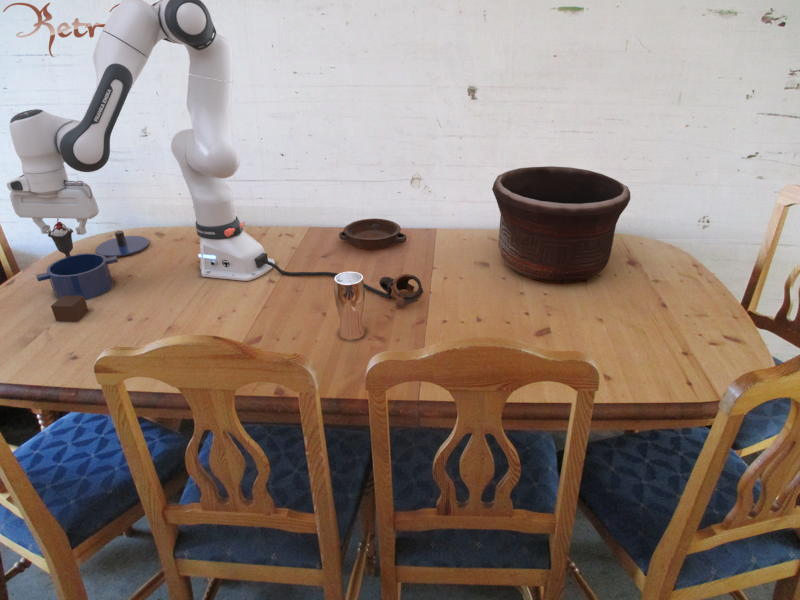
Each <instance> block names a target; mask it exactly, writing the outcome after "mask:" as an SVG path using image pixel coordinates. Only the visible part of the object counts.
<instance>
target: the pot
mask: <svg viewBox="0 0 800 600" xmlns="http://www.w3.org/2000/svg"><path fill="white" fill-rule="evenodd" d="M118 262H119V259H118V257H116V256H113V257H106V256H103V255H101V254H97V252H96V253H94V252H93V253H91V252H87V253H78V254H73V255H70V256H68V257H66V256H65V257H63V258H60V259H58V260H56V261H54V262H52V263H50V265H48V267H47V268H46V272H43V273H39V274H35V277H36V280H37V282H38V283H39V282H42V281H46V280H49V283H50V285H51V288H52V291H53V294H54V295H55V297H56V299H57V300H59V299H60V298H61V297H62V296H63V295H69V296H84V298H85V301H86V300H90V299H94V298H97V297H99V296H102V295H103V294H106V293H107V292H108V291H109V290H111V288H112V287H113V285H114V281H113V277H112V273H111V269H110V266H109V265H111V264H112V265H113V264H117V263H118Z"/></svg>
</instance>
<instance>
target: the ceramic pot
mask: <svg viewBox="0 0 800 600" xmlns="http://www.w3.org/2000/svg"><path fill="white" fill-rule="evenodd" d="M491 190H492V193H493V195H494V197H495V200H496V203H497V207H498V209H499V213H500V217H499V218H500V219H499V228H498V229H499V230H498V241H497V242H498V243H497V245H498V249H499V250H498V251H499V254H500V256H501V258H502V260H503V261H504V262H505V264H506V265H507V266H508V267H510V268H511V269H512V270H513V271H514V272H516V273H518V274H519V275H522V276H524V277H526V278H529V279H533V280H536V281H541V282H547V283H561V284H562V283H575V282H582V281H586V280H589V279H591V278H592V277H594V276H596V275H597V274H599V273H601V272H602V271H603V270H605V268H606V266H607V265H608V263H609V261H610V258H611V254H612V250H613V243H614V239H615V238H614V237H615V232H616V227H617V223H618V221H619V219H620V216H621V215H622V213H623V212H624V211H625V209H626V208H627V207H628V205H629V203H630V201H631V191H630V189H629V187H628V186H627V185H625V184H624V183H622V182H621V181H619V180H617V179H615V178H613V177H610V176H607V175H605V174H603V173H600V172H596V171H592V170H589V169H583V168H576V167H571V166H570V167H569V166H554V165H553V166H552V165H551V166H548V165H547V166H529V167H519V168H515V169H510V170H507V171H505V172H503V173H501V174H499V175H497V177H496V178H495V180H494V182H493V184H492V187H491Z"/></svg>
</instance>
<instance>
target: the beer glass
mask: <svg viewBox="0 0 800 600" xmlns="http://www.w3.org/2000/svg"><path fill="white" fill-rule="evenodd" d="M333 281H334V283H333V284H334V285H333V291H334V303H335V306H336V310H337V313H338V317H339V331H338V333H339V334H338V335H339V336H340V337H341V338H342V339H344V340H347V341H354V340H355V341H356V340H359V339H361V338H363V336H364V335H365V332H366V331H365V327H364V323H363V314H364V307H365V299H366V298H365V297H366V295H365V294H366V293H365V292H366V291H365V288H364V284H365V282H364V276H363V275H362V274H361V273H359V272H356V271H344V272H340V273H339V274H338V275H336V276H334V278H333Z"/></svg>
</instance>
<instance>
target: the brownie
mask: <svg viewBox="0 0 800 600" xmlns="http://www.w3.org/2000/svg"><path fill="white" fill-rule="evenodd" d="M50 309H51V310H52V313H53V316H54V319H55V322H65V323H66V322H67V323H70V322H71V323H77V322H79V321H80V320H81V319H82V318H83V317H84V316H85V315H86V314H87V313H88V312H89V307H88V303H87V301H86V300H85V298H84V296H69V295H63V296H62V297H61V298H60V299H57V300H56V301H55V302H54V303H52V304H51V305H50Z"/></svg>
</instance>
